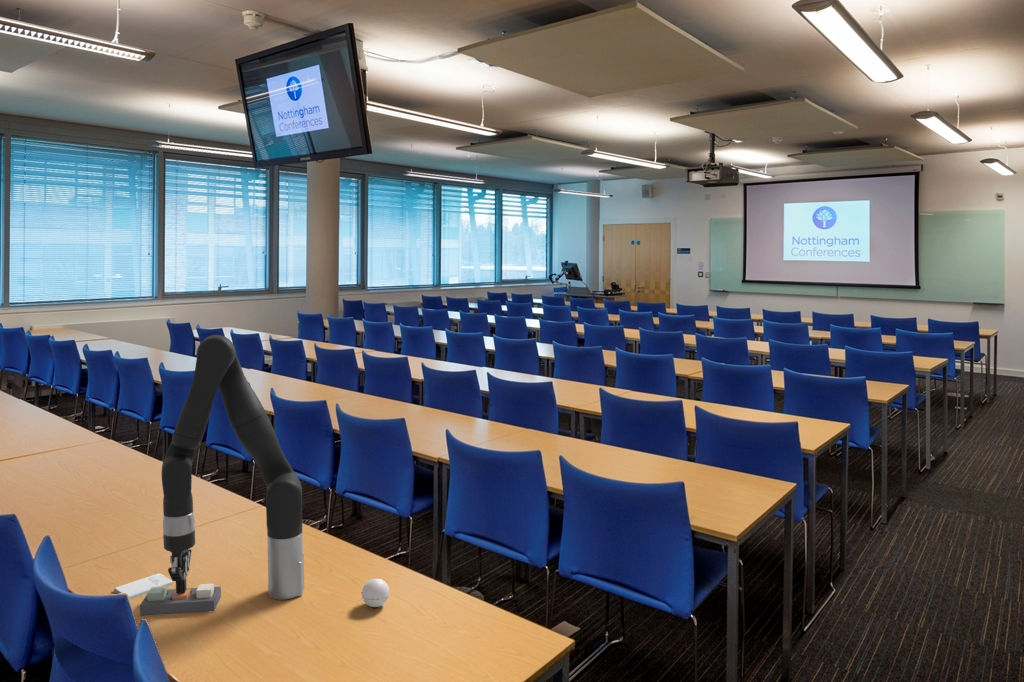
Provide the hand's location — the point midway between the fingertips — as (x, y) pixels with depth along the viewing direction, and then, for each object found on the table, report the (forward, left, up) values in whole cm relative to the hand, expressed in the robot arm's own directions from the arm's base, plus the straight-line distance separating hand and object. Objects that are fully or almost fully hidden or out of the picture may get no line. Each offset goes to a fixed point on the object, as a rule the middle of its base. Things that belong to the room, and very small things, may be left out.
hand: (181, 592), depth 186 cm
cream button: (-6, 0, -2) cm, 6 cm away
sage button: (+6, 0, -2) cm, 6 cm away
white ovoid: (-49, +7, -4) cm, 50 cm away
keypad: (0, 0, -4) cm, 4 cm away
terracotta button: (0, 0, -4) cm, 4 cm away
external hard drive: (+13, -12, -5) cm, 19 cm away
